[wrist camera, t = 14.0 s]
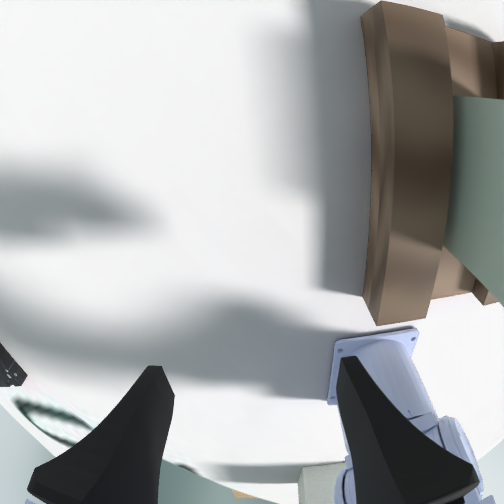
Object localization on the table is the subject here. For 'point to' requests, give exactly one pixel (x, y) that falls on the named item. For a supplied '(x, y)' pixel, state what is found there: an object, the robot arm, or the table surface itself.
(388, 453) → the robot arm
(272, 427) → the table surface
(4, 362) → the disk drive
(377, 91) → the slot stand
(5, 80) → the table surface
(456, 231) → the pale green block
